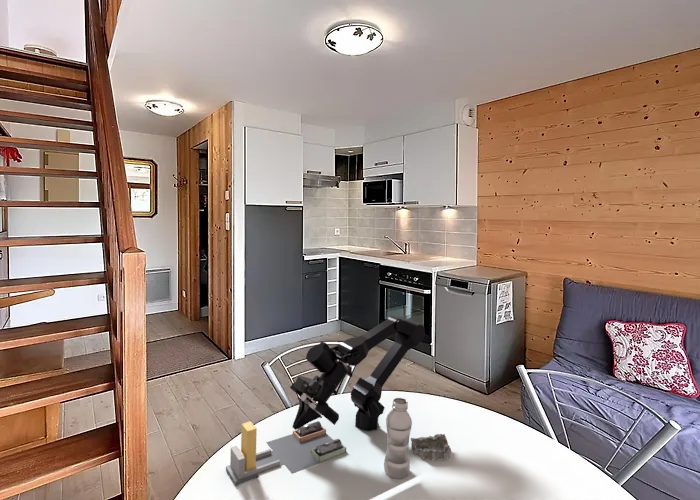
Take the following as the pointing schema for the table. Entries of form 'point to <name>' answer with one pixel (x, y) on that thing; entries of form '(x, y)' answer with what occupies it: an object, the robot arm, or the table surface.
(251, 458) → the tall mustard pillar
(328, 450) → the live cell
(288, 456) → the checker
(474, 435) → the table surface
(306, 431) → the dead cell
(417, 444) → the egg carton
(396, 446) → the plastic bottle
